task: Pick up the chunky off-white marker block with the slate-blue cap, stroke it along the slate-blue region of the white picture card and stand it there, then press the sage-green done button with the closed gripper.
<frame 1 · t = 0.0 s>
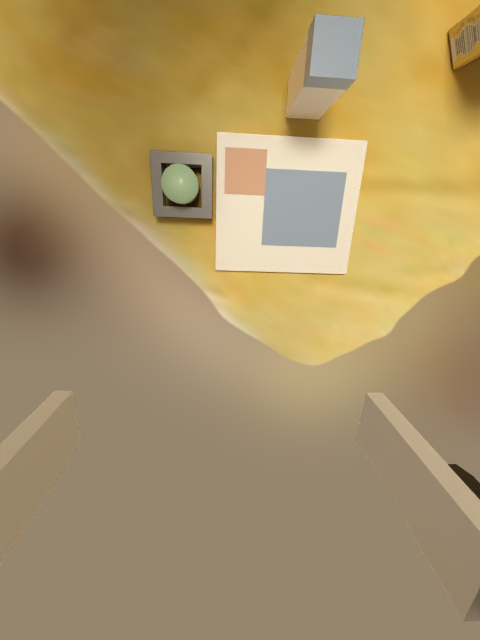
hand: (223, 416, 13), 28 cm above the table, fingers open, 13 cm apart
done button: (181, 185, 32), point 3 cm above the table, slide at 0.0 cm
button housing: (184, 187, 35), on the table
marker: (304, 98, 32), on the table
picture card: (286, 209, 36), on the table
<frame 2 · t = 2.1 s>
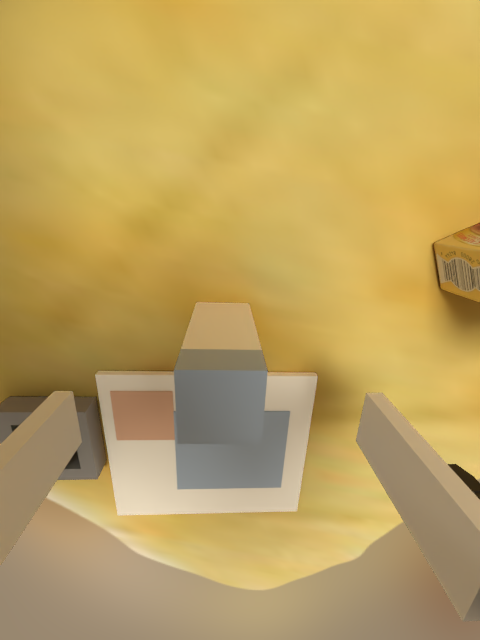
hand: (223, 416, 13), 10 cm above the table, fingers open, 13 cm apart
button housing: (60, 430, 25), on the table
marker: (222, 327, 22), on the table
picture card: (209, 446, 26), on the table
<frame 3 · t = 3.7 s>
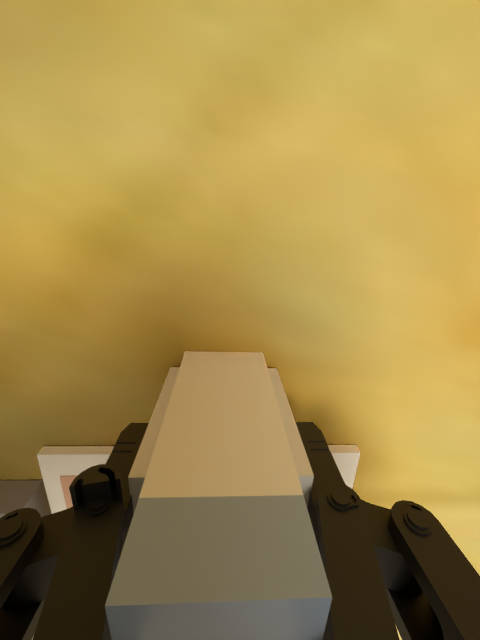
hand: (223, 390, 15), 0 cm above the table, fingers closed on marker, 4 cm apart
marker: (223, 385, 15), on the table, touching gripper
picture card: (205, 539, 19), on the table
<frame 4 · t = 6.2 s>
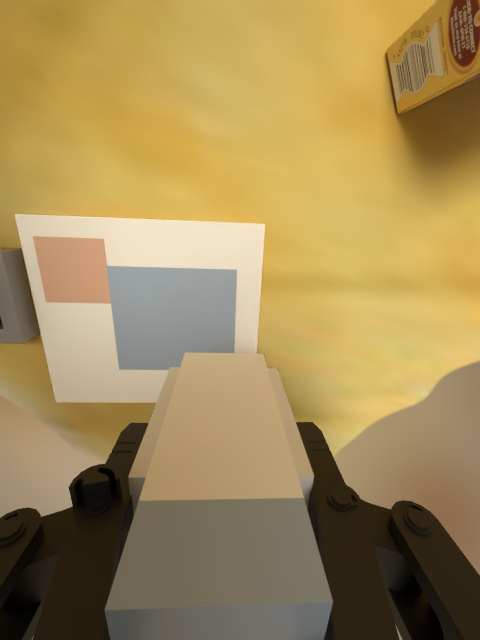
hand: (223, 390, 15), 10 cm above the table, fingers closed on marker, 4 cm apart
candy box: (452, 57, 19), on the table
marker: (223, 386, 15), point 10 cm above the table, touching gripper
picture card: (152, 319, 24), on the table
when the fingers open (1 cm above the table, at t = 8.9 s): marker stays where it is, resting on picture card.
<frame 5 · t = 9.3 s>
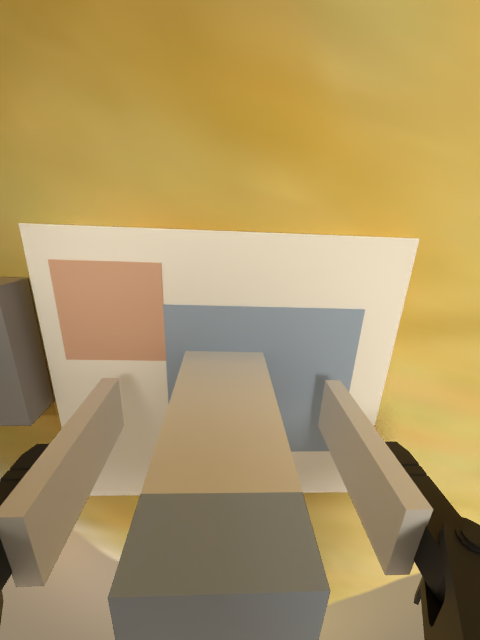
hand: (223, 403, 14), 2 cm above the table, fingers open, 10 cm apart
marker: (223, 385, 15), point 1 cm above the table, touching picture card
picture card: (223, 379, 16), on the table
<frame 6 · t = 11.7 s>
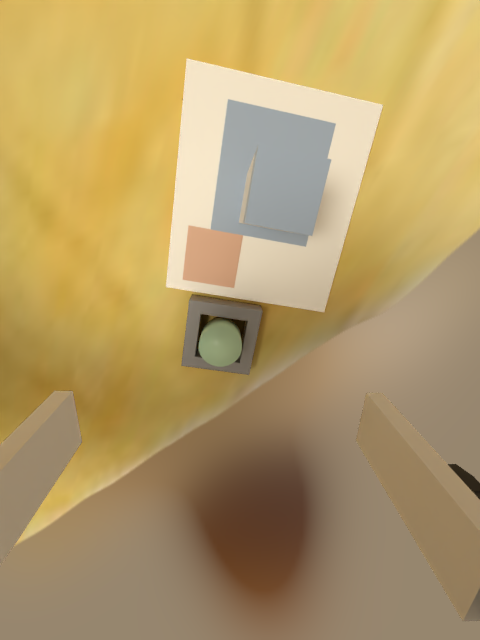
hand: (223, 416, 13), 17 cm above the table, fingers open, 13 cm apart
done button: (220, 341, 27), point 3 cm above the table, slide at 0.0 cm
button housing: (221, 331, 30), on the table
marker: (264, 203, 25), point 1 cm above the table, touching picture card
picture card: (264, 204, 26), on the table
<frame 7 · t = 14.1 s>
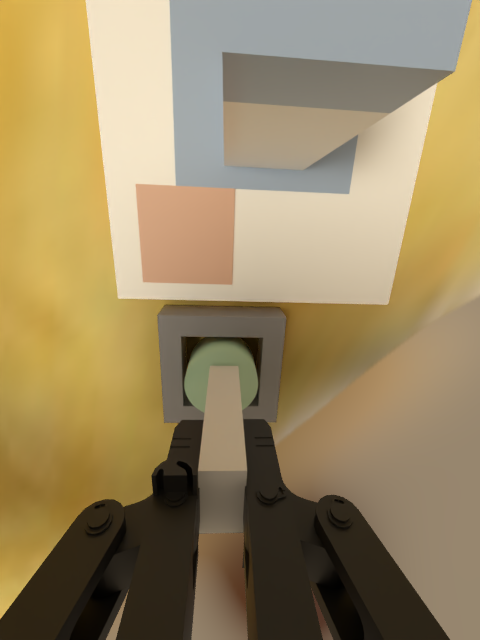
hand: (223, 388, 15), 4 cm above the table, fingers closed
done button: (221, 373, 16), point 2 cm above the table, slide at 0.6 cm, touching gripper
button housing: (222, 357, 18), on the table
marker: (266, 121, 13), point 1 cm above the table, touching picture card
picture card: (266, 126, 14), on the table
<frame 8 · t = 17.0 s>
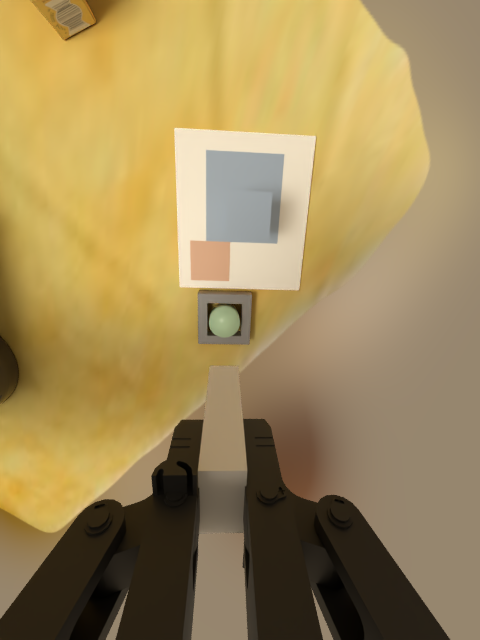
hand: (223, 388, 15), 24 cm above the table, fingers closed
done button: (224, 319, 37), point 2 cm above the table, slide at 0.7 cm
button housing: (224, 315, 39), on the table
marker: (242, 217, 34), point 1 cm above the table, touching picture card
picture card: (242, 217, 35), on the table
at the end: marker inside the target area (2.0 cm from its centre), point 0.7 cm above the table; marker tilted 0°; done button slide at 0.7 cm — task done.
